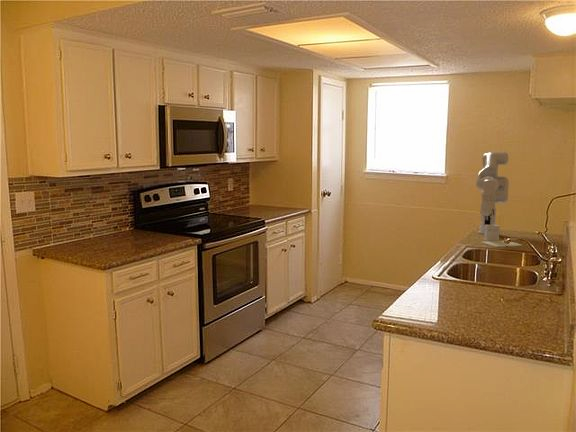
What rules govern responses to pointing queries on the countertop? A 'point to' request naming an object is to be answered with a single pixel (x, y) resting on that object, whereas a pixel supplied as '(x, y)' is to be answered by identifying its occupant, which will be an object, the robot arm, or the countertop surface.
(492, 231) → the small box
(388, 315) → the countertop surface
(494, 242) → the mat
